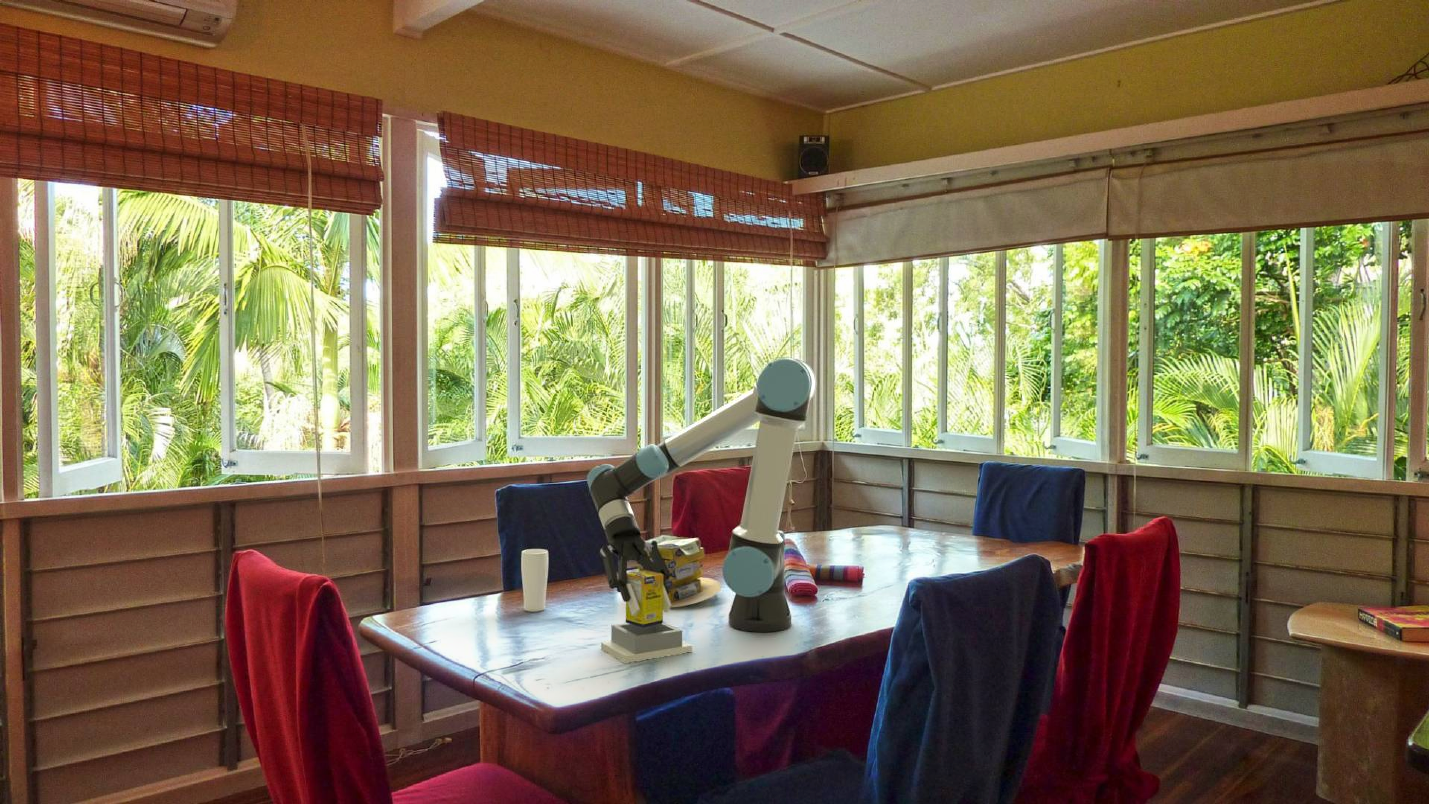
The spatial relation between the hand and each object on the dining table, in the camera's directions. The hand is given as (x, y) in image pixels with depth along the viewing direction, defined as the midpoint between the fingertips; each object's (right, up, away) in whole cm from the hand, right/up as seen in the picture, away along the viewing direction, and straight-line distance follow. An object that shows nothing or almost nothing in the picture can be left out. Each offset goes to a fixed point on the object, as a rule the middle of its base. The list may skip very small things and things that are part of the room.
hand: (652, 610), depth 204 cm
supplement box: (-2, -4, +3) cm, 5 cm away
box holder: (-1, -9, +3) cm, 10 cm away
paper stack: (+3, -8, +52) cm, 53 cm away
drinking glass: (-32, -8, +38) cm, 51 cm away
